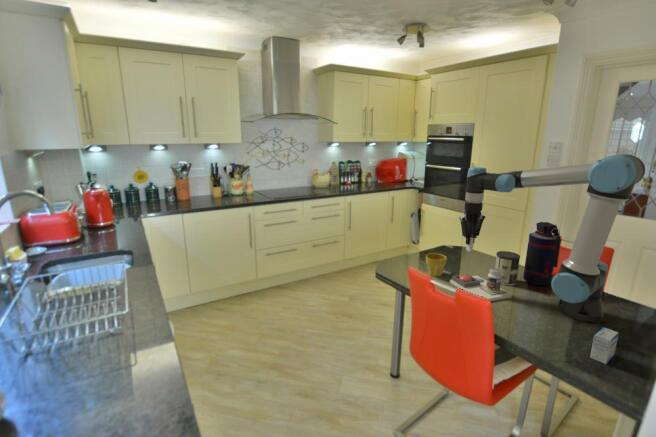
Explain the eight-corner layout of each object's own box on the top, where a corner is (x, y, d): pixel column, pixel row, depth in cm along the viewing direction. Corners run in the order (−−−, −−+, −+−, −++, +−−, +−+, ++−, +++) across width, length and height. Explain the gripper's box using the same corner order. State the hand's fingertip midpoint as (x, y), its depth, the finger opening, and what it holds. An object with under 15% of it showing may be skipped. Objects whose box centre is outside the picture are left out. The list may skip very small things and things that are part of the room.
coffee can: (512, 277, 173) (516, 251, 170) (519, 286, 163) (523, 258, 160) (490, 276, 175) (494, 250, 172) (496, 284, 165) (499, 257, 162)
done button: (475, 283, 162) (475, 278, 162) (464, 285, 160) (465, 280, 160) (466, 278, 168) (467, 273, 167) (456, 280, 166) (456, 275, 165)
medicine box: (606, 365, 108) (611, 341, 106) (589, 357, 111) (594, 334, 109) (614, 355, 112) (619, 332, 110) (597, 349, 116) (602, 326, 114)
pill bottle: (483, 288, 157) (485, 268, 154) (491, 286, 159) (493, 266, 157) (494, 293, 152) (496, 273, 149) (502, 291, 155) (505, 270, 152)
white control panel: (511, 297, 152) (512, 290, 151) (482, 302, 147) (483, 295, 146) (476, 278, 172) (477, 271, 172) (449, 282, 168) (450, 275, 167)
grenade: (532, 287, 162) (541, 227, 155) (517, 277, 174) (525, 220, 166) (560, 287, 162) (571, 226, 155) (544, 276, 174) (553, 220, 167)
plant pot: (425, 277, 173) (426, 259, 171) (423, 269, 183) (425, 252, 181) (446, 279, 172) (448, 260, 169) (443, 271, 182) (445, 253, 179)
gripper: (479, 199, 160) (474, 246, 165) (456, 201, 156) (452, 249, 162) (491, 202, 153) (486, 251, 159) (467, 204, 149) (463, 254, 155)
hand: (469, 250), depth 160 cm, fingers closed
